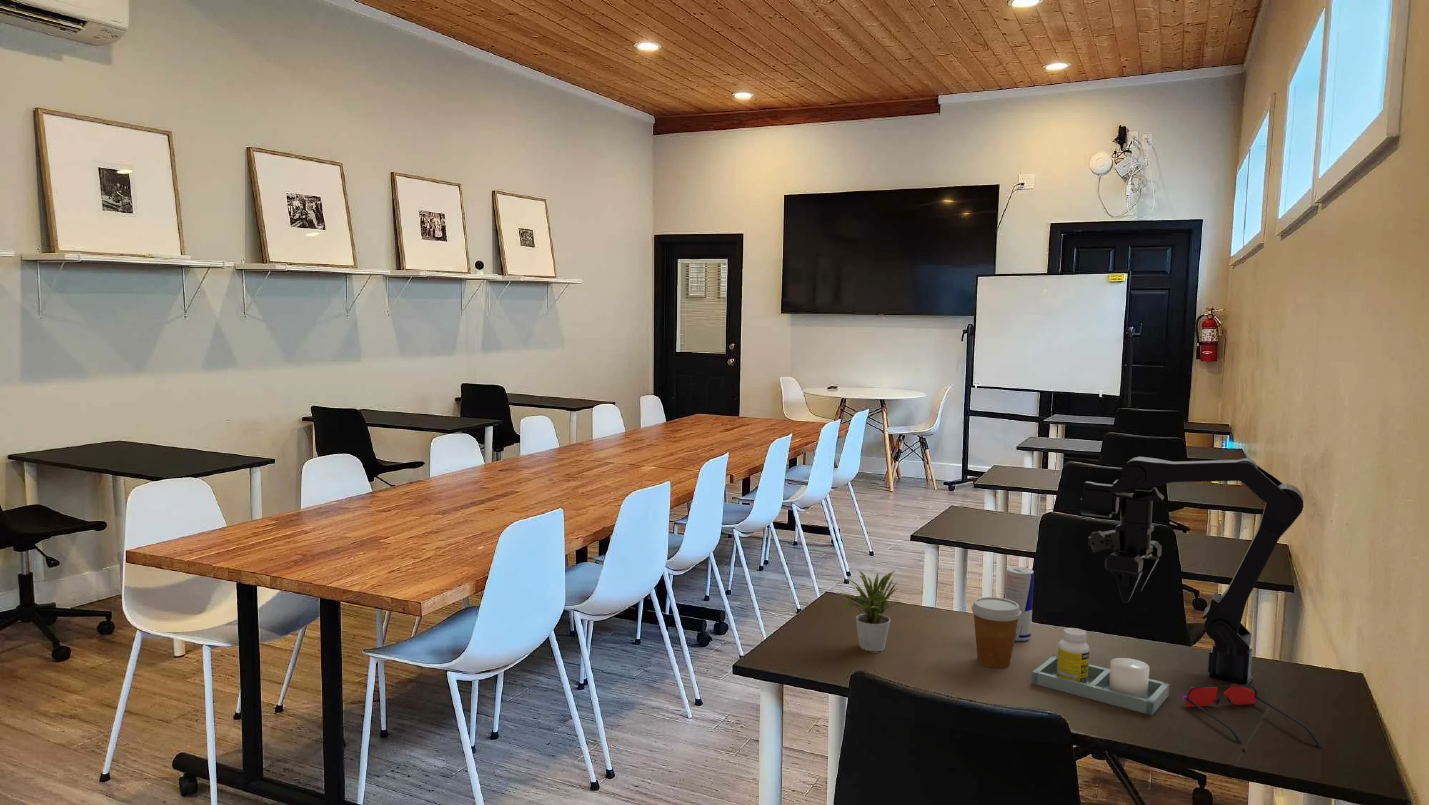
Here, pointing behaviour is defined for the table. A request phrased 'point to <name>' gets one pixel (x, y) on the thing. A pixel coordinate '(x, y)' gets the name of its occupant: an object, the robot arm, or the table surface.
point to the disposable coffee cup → (995, 630)
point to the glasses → (1237, 696)
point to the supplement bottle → (1073, 655)
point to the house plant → (872, 612)
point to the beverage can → (1021, 598)
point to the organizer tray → (1100, 687)
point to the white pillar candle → (1129, 677)
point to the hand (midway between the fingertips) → (1131, 597)
